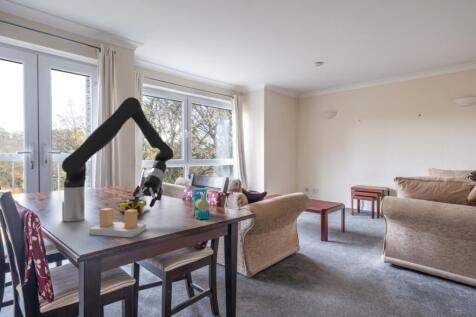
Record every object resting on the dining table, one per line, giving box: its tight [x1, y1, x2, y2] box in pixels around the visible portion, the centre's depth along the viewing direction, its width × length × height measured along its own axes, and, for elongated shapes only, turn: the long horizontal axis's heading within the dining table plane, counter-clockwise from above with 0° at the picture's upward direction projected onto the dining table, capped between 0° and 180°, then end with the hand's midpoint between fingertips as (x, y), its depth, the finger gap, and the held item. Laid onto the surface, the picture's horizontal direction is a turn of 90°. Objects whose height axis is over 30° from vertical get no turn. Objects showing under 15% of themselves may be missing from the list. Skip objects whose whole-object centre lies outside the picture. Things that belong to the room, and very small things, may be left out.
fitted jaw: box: [99, 207, 114, 227], centre depth 124 cm, size 4×4×10 cm
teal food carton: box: [191, 187, 211, 219], centre depth 154 cm, size 8×17×15 cm, turn 19°
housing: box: [89, 221, 147, 238], centre depth 123 cm, size 20×12×2 cm, turn 81°
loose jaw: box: [123, 209, 138, 229], centre depth 122 cm, size 4×4×10 cm
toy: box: [117, 197, 147, 216], centre depth 161 cm, size 16×9×30 cm
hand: (142, 205), depth 134 cm, fingers open, 8 cm apart
